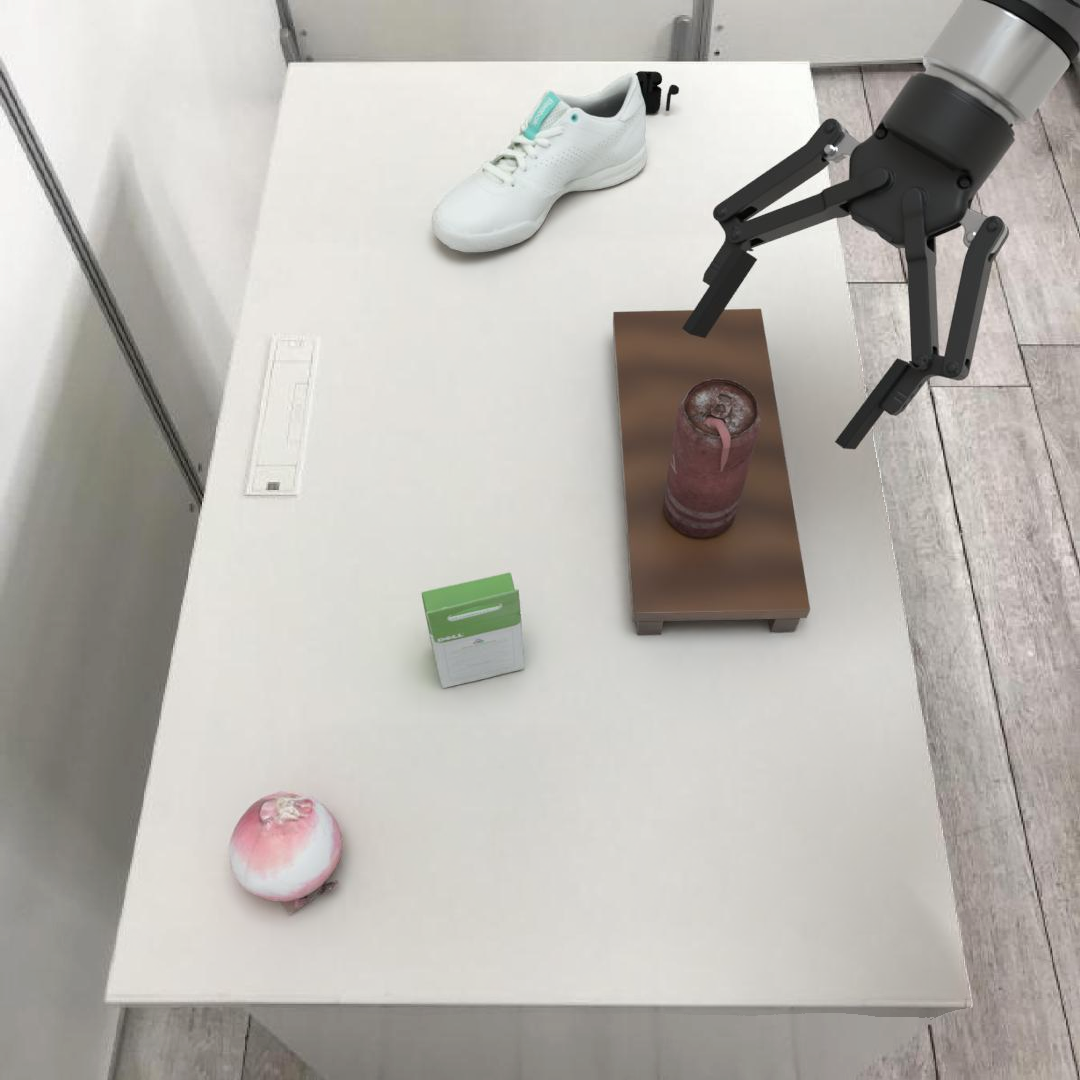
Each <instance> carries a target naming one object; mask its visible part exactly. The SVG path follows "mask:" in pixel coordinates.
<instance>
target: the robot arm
mask: <svg viewBox="0 0 1080 1080" xmlns="http://www.w3.org/2000/svg"><path fill="white" fill-rule="evenodd" d="M1079 53H1080V0H962V1H960V4H959V5H958V7H956V9H955V10H954V12H953V13H952V15H951V16H950V18H949V19H948V21H947V22H946V24H945V25H944V27H943V28H942V29H941V31H940V33H939V34H938V35H937V37H936V38H935V39H934V41H933V42H932V44H931V45H930V46H929V48H928V50H927V51H926V52H925V53H924V55H923V57H922V65H923V67H924V69H925V71H924V72H918V73H915V75H914V74H913V75H910V76H909V78H908V80H907V81H906V83H905V84H904V85H903V87H902V89H900V91H899V93H898V94H897V96H896V97H895V98H894V100H893V102H892V104H890V106H889V108H888V109H887V111H886V112H885V114H884V115H883V116H882V118H881V120H880V122H879V123H878V125H877V127H876V129H875V130H874V132H873V133H872V134H871V135H870V136H869V137H868V138H867V139H865V140H863V141H862V142H860V141H859V140H857V139H856V138H855V137H854V136H852V135H851V134H850V132H849V131H848V130H847V128H845V127H844V126H843V125H842V123H840V122H839V121H838V120H837V119H835V118H833V117H831V118H827V119H825V120H824V121H823V122H822V123H821V124H820V125H819V127H818V128H817V130H815V132H813V134H812V136H810V138H809V140H807V142H806V143H805V144H804V145H802V146H801V147H800V148H798V149H796V150H795V151H794V152H792V153H791V154H789V155H788V156H787V157H785V158H784V159H783V160H781V161H780V162H778V163H777V164H775V165H773V166H772V167H770V168H769V169H767V170H766V171H765V172H763V173H762V174H761V175H759V176H758V177H756V178H754V179H753V180H752V181H750V182H749V183H747V184H746V185H745V186H743V187H742V188H740V189H739V190H736V192H734V193H733V194H731V195H730V196H728V197H727V198H725V199H724V200H722V201H721V202H719V203H718V204H717V205H716V206H715V207H714V208H713V211H712V216H713V219H714V220H715V221H717V223H719V225H720V227H721V229H722V230H723V231H724V235H725V237H724V238H725V239H724V241H723V243H722V245H721V247H720V248H719V250H718V251H717V253H716V254H715V256H714V257H713V259H712V261H711V262H710V263H709V265H708V267H707V268H706V269H705V272H704V273H703V277H702V282H704V283H705V284H706V285H708V288H707V289H706V291H705V292H704V294H703V295H702V297H701V298H700V299H699V302H698V303H697V304H696V306H695V308H694V309H693V310H694V311H693V312H692V314H691V315H690V317H689V318H688V320H687V321H686V323H685V325H684V326H683V328H682V329H684V330H685V331H686V332H688V333H689V334H691V335H695V336H698V337H702V338H706V336H707V335H708V333H709V332H710V330H711V329H712V327H713V326H714V324H715V323H716V321H717V320H718V318H719V317H720V315H721V314H722V312H723V311H724V309H726V308H727V306H728V305H729V303H730V302H731V300H732V299H733V297H734V296H735V294H736V293H737V291H738V289H739V288H740V287H741V285H742V284H743V282H744V280H745V279H746V278H747V276H748V274H749V273H750V271H751V270H752V269H753V267H754V265H756V264H755V263H756V262H757V261H758V258H756V257H755V256H754V255H752V254H750V253H749V252H754V248H757V247H760V246H762V245H765V244H768V243H770V242H773V241H776V240H778V239H782V238H784V237H787V236H790V235H792V234H796V233H798V232H800V231H804V230H806V229H809V228H811V227H815V226H818V225H820V224H823V223H825V222H829V221H831V220H834V219H841V218H845V217H851V220H853V221H854V222H856V223H857V224H858V225H859V226H860V227H861V226H862V227H863V228H864V229H866V230H867V231H868V232H872V233H876V234H877V235H878V236H879V237H880V238H881V240H884V241H885V242H887V244H890V245H891V246H893V247H894V248H895V249H904V257H905V261H906V265H907V267H906V268H907V286H908V290H907V291H908V313H909V333H910V334H909V336H910V352H911V353H910V358H911V360H909V361H906V360H903V359H901V358H898V357H897V358H896V359H895V360H894V362H893V363H892V364H891V366H890V367H889V369H888V370H887V371H886V372H885V374H884V375H883V376H882V378H881V379H880V380H879V382H878V383H877V384H876V385H875V387H874V388H873V390H872V391H871V393H870V394H869V395H868V396H867V398H866V399H865V400H864V402H863V403H862V405H861V406H860V407H859V409H857V411H856V413H855V414H853V416H852V418H851V419H850V421H849V422H848V424H846V426H845V427H844V428H843V430H842V431H841V433H840V434H839V435H838V437H836V439H835V441H834V443H835V444H837V445H838V446H840V447H841V448H842V449H843V450H856V449H857V448H858V447H859V445H860V444H861V443H862V441H863V440H864V439H865V437H866V436H867V434H868V433H869V432H870V430H871V429H872V428H873V426H874V425H876V423H877V421H878V420H879V418H880V417H881V416H882V415H883V413H884V412H885V413H887V414H888V415H890V416H896V417H897V416H898V415H900V414H901V413H903V412H904V411H905V410H906V408H907V407H908V406H909V404H910V403H911V402H912V401H913V399H914V398H915V397H916V395H917V394H918V393H919V392H920V390H921V389H922V387H923V386H924V385H925V384H926V382H927V381H928V380H929V379H931V378H933V377H941V378H946V379H950V380H953V381H957V382H958V381H963V380H965V379H966V378H968V376H969V374H970V373H971V372H970V371H971V367H972V361H973V358H974V352H975V349H976V348H975V347H976V342H977V339H978V333H979V330H980V329H979V328H980V323H981V318H982V314H983V310H984V305H985V300H986V296H987V290H988V287H989V281H990V277H991V272H992V267H993V263H994V260H995V259H996V257H997V256H998V255H999V253H1000V251H1001V249H1002V247H1003V246H1004V244H1005V243H1006V241H1007V239H1008V237H1009V235H1010V229H1009V228H1008V226H1007V224H1006V223H1005V222H1004V221H1003V219H1002V218H1001V217H1000V216H998V215H990V216H987V215H985V214H983V213H981V212H979V211H976V210H974V209H973V208H972V203H973V200H974V198H975V196H976V195H977V193H978V192H979V190H980V189H981V188H982V187H983V185H984V184H985V182H986V181H987V180H988V178H989V177H990V175H991V174H992V173H993V172H994V170H995V168H997V166H998V164H999V163H1000V162H1001V160H1002V159H1003V158H1004V156H1005V155H1006V154H1007V152H1008V151H1009V149H1011V147H1012V145H1013V144H1014V143H1015V141H1016V140H1015V138H1014V137H1015V134H1016V133H1015V131H1014V129H1013V127H1014V126H1023V125H1027V124H1028V122H1029V121H1030V120H1031V118H1032V117H1033V116H1034V115H1035V113H1036V112H1037V110H1039V108H1040V107H1041V105H1042V103H1043V102H1045V99H1046V98H1047V97H1048V96H1049V94H1050V93H1051V91H1053V89H1054V87H1055V86H1056V85H1057V83H1058V82H1059V80H1060V79H1062V78H1061V77H1063V75H1064V74H1065V72H1066V71H1067V70H1068V69H1069V67H1070V65H1071V64H1072V63H1073V62H1074V60H1075V59H1076V58H1077V56H1078V55H1079ZM845 159H849V160H848V179H846V180H844V181H842V182H838V183H836V184H834V185H830V186H828V187H826V188H824V189H822V190H821V192H819V193H816V194H813V195H811V196H808V197H805V198H804V199H801V200H798V201H795V202H793V203H789V204H788V205H785V206H782V207H780V208H777V209H775V210H772V211H769V212H767V213H763V214H760V215H758V214H759V213H761V212H762V211H763V210H765V209H766V208H768V207H769V206H771V205H773V204H774V203H775V202H777V201H779V200H780V199H782V198H783V197H784V196H786V195H788V194H789V193H790V192H792V191H794V190H795V189H796V188H798V187H799V186H801V185H802V184H804V183H805V182H807V181H809V180H811V178H813V177H815V176H816V175H818V174H819V173H821V172H822V171H823V170H825V169H826V168H827V166H829V165H830V164H831V165H837V164H839V163H840V162H842V161H843V160H845ZM756 215H758V216H756ZM755 216H756V217H755ZM961 226H962V227H963V229H964V233H963V237H962V242H963V245H964V246H965V247H966V248H967V251H966V253H965V257H964V260H963V264H962V268H961V273H960V277H959V283H958V289H957V292H956V298H955V301H954V302H955V303H954V307H953V312H952V317H951V320H950V327H949V330H948V331H949V332H948V337H947V340H946V341H947V342H946V346H945V351H944V355H940V345H939V343H940V341H939V325H938V324H939V320H938V319H939V318H938V317H939V316H938V297H937V295H938V294H937V275H936V274H937V272H936V267H937V263H938V262H937V260H938V259H937V238H938V237H939V236H942V235H945V234H947V233H949V232H952V231H954V230H956V229H959V228H961Z"/></svg>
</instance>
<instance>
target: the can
mask: <svg viewBox="0 0 1080 1080" xmlns="http://www.w3.org/2000/svg"><path fill="white" fill-rule="evenodd" d="M760 425H761V411H760V409H759V406H758V403H757V401H756V399H755V397H754V395H753V394H752V393H751V392H750V391H749V390H748V389H747V388H746V387H745V386H743V385H741V384H740V383H738V382H735V381H732V380H728V379H718V378H714V379H709V380H704V381H702V382H700V383H698V384H696V385H694V386H693V387H692V388H691V390H690V391H689V392H688V393H687V394H686V395H685V396H684V397H683V398H682V400H681V402H680V404H679V407H678V411H677V418H676V424H675V430H674V437H673V443H672V449H671V456H670V462H669V468H668V475H667V481H666V487H665V493H664V505H663V509H664V512H665V515H666V517H667V519H668V520H669V522H670V523H671V524H672V525H673V527H675V528H676V529H678V530H679V531H681V532H682V533H684V534H686V535H690V536H693V537H704V538H706V537H710V536H715V535H718V534H720V533H722V532H723V531H725V530H727V529H728V527H729V526H730V525H731V524H732V523H733V521H734V519H735V516H736V513H737V510H738V506H739V502H740V499H741V495H742V491H743V488H744V484H745V480H746V476H747V473H748V469H749V465H750V462H751V458H752V454H753V451H754V447H755V443H756V440H757V436H758V432H759V429H760Z"/></svg>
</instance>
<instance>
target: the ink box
mask: <svg viewBox="0 0 1080 1080" xmlns="http://www.w3.org/2000/svg"><path fill="white" fill-rule="evenodd" d="M420 594H421V599H422V605H423V609H424V614H425V619H426V624H427V630H428V635H429V640H430V644H431V648H432V653H433V658H434V662H435V668H436V669H437V675H438V679H439V683H440V685H441V688H442V689H446V688H451V687H456V686H459V685H463V684H467V683H472V682H476V681H480V680H484V679H489V678H492V677H497V676H500V675H504V674H509V673H513V672H516V671H517V672H518V671H522V670H524V669H525V668H526V666H525V653H524V640H523V638H524V637H523V625H522V614H521V612H522V610H521V601H520V589H519V588H516V589H515V584H514V581H513V576H512V573H511V572H510V571H508V572H506V573H505V572H504V573H500V574H495V575H491V576H488V577H483V578H477V579H474V580H470V581H466V582H460V583H456V584H452V585H447V586H446V585H445V586H441V587H437V588H433V589H428V590H424V591H423V590H422V591H421V593H420Z"/></svg>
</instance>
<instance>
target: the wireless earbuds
mask: <svg viewBox="0 0 1080 1080" xmlns="http://www.w3.org/2000/svg"><path fill="white" fill-rule="evenodd" d="M635 74H636V75H637V77H638V81H639V84H640V89H641V93H642V96H643V99H644V102H645V107H646V114H656V113H658V112H659V110H660V108H661V100H662V91H663V90H662V88H661V87H660V86H659V85H661V84H662V83H663V75H662V74H661V73H660V72H659V71H656V70H653V71H648V70H639V71H637V72H635ZM679 93H680V87H679V86H678V85H676V84H671V85H670V86H669V88H668V91H667V94H666V102H665V112H670V108H671V99H672V96H675V95H678V94H679Z"/></svg>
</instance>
